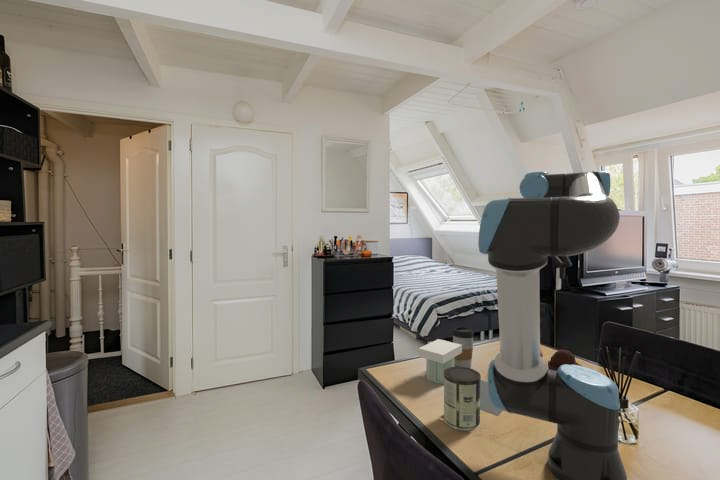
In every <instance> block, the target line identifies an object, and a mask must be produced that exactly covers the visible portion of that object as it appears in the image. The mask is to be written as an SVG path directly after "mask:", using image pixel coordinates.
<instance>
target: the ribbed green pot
mask: <svg viewBox="0 0 720 480" xmlns="http://www.w3.org/2000/svg"><path fill="white" fill-rule="evenodd" d="M425 363H426V380H427V379H428V381H430V382H433V383H435V384H441V385H442V384H443V385H444V370H445V369H447V368H450V367H455V357H454V358H452V359H450V360H449V361H447V362H445V363H439V362H436V361H433V360H429V359H426V362H425Z"/></svg>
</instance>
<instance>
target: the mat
mask: <svg viewBox="0 0 720 480" xmlns="http://www.w3.org/2000/svg"><path fill="white" fill-rule="evenodd" d="M480 411H482V412H486V413H487V414H491V415H494V416H495V417H498V416H499V415H501V413H502V412H503V411H504V410H501V409H498V408H496V407H495V406H494V405H493V403H492V402H491V399H490V396H489V390H488V381H485V380H483V379H480Z"/></svg>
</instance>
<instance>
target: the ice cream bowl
mask: <svg viewBox="0 0 720 480" xmlns="http://www.w3.org/2000/svg"><path fill="white" fill-rule="evenodd" d="M564 364H567V365H570V364H572V365H578V366H582V365H581V364H579V362H577V361H576V357H575V355H574V354H573V353H572V352H570V351H569V350H567V349H560V350H557V351H555V352H554V354H552V356H551V357H550V360H547V369H550V370H555V371H558V368H559V367H560V366H561V365H564Z"/></svg>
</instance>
